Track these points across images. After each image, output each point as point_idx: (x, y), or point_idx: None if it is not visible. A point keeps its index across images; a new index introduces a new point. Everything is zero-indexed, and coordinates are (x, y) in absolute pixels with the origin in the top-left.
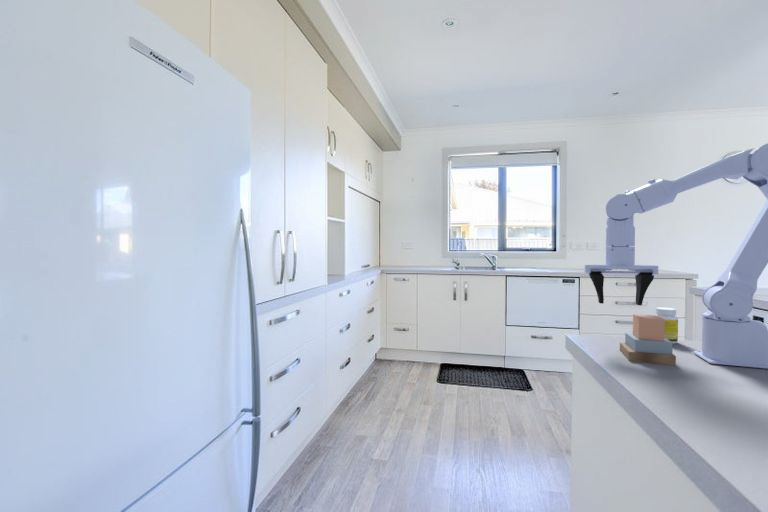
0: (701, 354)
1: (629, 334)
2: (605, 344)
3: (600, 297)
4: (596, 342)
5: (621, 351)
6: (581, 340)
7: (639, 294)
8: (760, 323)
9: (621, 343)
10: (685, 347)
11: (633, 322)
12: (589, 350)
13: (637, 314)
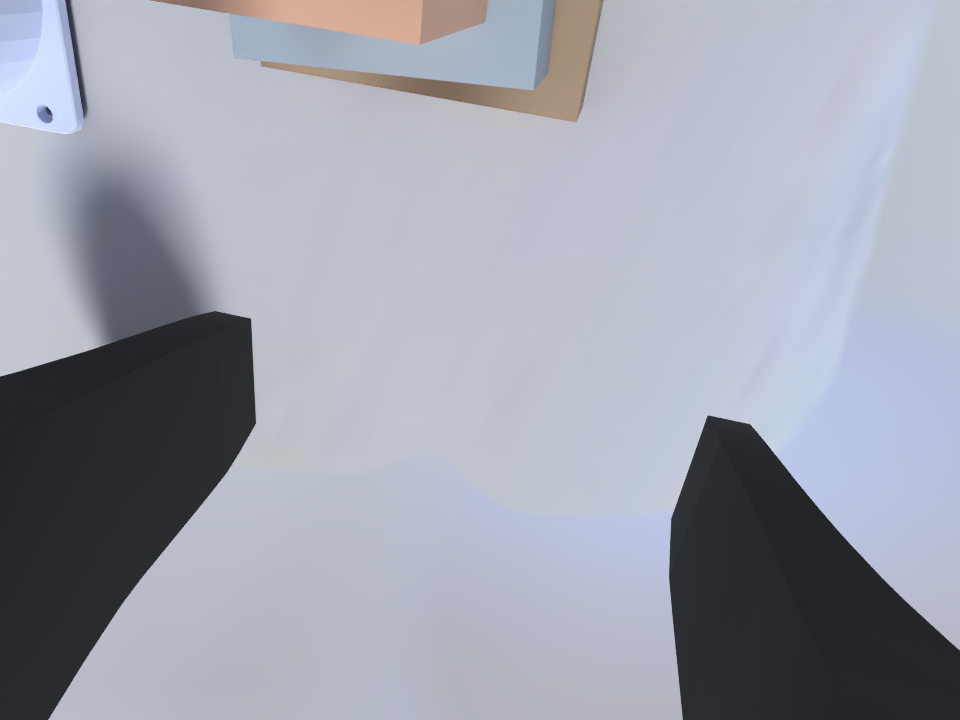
0: (43, 29)
1: (521, 8)
2: (618, 286)
3: (780, 471)
4: (666, 336)
5: (594, 42)
6: (766, 382)
7: (141, 387)
8: None
9: (579, 77)
10: (103, 288)
11: (453, 5)
12: (877, 45)
13: (368, 23)
